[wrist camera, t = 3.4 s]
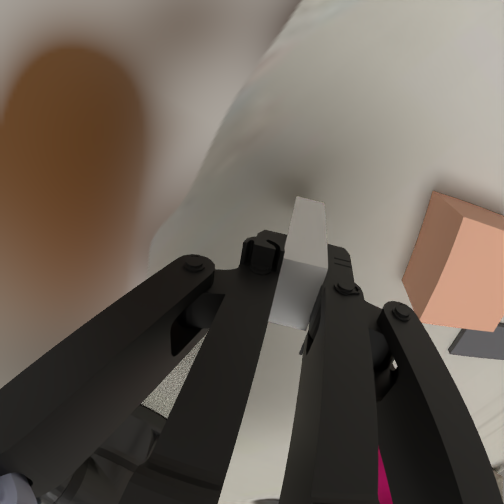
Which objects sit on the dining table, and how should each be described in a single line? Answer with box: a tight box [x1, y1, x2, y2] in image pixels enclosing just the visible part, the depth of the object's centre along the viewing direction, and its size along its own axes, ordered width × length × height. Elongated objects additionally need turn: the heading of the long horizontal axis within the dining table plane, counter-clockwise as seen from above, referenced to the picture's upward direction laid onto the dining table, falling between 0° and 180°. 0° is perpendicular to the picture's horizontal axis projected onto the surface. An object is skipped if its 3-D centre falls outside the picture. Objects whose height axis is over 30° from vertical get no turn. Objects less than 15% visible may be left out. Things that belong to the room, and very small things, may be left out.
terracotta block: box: [402, 191, 504, 332], centre depth 16 cm, size 7×7×5 cm
